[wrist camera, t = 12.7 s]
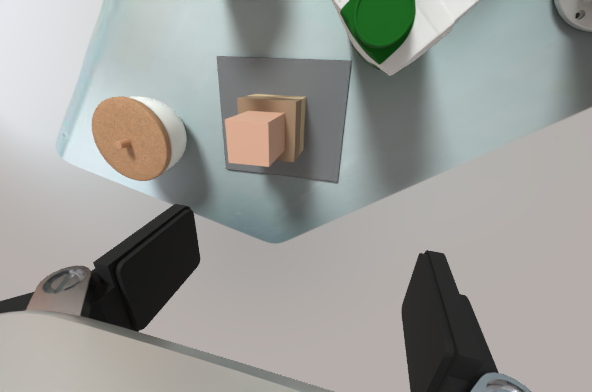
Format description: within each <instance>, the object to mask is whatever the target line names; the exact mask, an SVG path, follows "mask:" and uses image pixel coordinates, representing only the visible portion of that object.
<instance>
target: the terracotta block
mask: <svg viewBox="0 0 592 392" xmlns="http://www.w3.org/2000/svg"><path fill="white" fill-rule="evenodd" d="M225 128H226V139H227V150H228V162H229V163H235V164H245V165H255V166H265V167H269V166H270V165H271V164H272V163H273V162H274V161H275V160H276V159H277V158H278V157H279V156H280V155H281V154H282V153H283V152H284V151H285V113H278V112H261V111H246V112H244V113H241V114H238V115H236V116H233V117H230V118H227V119H225Z"/></svg>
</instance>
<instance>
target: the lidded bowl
mask: <svg viewBox="0 0 592 392" xmlns="http://www.w3.org/2000/svg"><path fill="white" fill-rule="evenodd" d="M92 132H93V137H94V140H95V143H96V145H97V147H98V149H99V151H100V153H101V155H102V156H103V157H104V159H105V160H106V161H107V162H108V164H109V165H110V166H111V167H113V168H114V169H115V170H116V171H117V172H119V173H120V174H122V175H124V176H126V177H128V178H131V179H134V180H139V181H147V180H151V179H154V178H156V177H158V176H159V175H161V174H162V173H164V172H165V171H167V170H168V169H170V168H171V167H173V166H174V165H175V164H176V163H177V162H178V161H179V160H180V159H181V157H182V155H183V153H184V151H185V149H186V143H187V135H186V130H185V127H184V124H183V122H182V121H181V119H180V117H179V116H178V115H177V114H176V113H175V111H173V110H172V109H171V108H170V107H169V106H167V105H166V104H164V103H162V102H160V101H158V100H155V99H152V98H147V97H137V96H133V97H112V98H109V99H106V100H104V101H102V102H101V103H100V104H99V105H98V106H97V108H96V110H95V112H94V114H93V118H92Z"/></svg>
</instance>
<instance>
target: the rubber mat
mask: <svg viewBox="0 0 592 392" xmlns="http://www.w3.org/2000/svg"><path fill="white" fill-rule="evenodd" d="M217 65H218V77H219V89H220V101H221V113H222V125H223V138H224V150H225V162H226V169H232V170H241V171H250V172H258V173H267V174H275V175H284V176H293V177H301V178H310V179H319V180H327V181H336V182H338V173H339V165H340V156H341V147H342V138H343V129H344V120H345V111H346V102H347V93H348V85H349V76H350V67H351V61H343V60H314V59H286V58H257V57H228V56H217ZM252 94H268V95H284V96H301V97H306V112H305V132H304V149H303V151H302V152H301V153H300V155H299V156H298V158H297V159H296V160H295V162H287V161H278V160H275V161H274V162H273V163H272V164H271V165H270V166H269V167H265V166H255V165H245V164H235V163H229V162H228V150H227V139H226V128H225V119H227V118H230V117H233V116H236V115H238V108H237V98H239V97H244V96H248V95H252Z"/></svg>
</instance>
